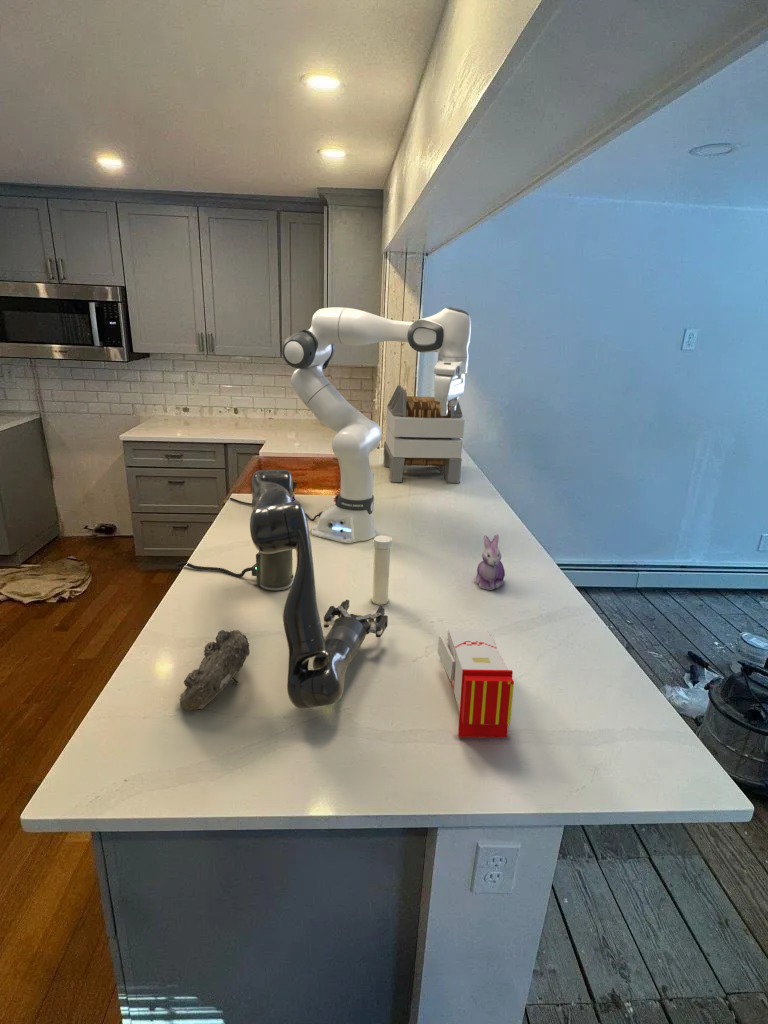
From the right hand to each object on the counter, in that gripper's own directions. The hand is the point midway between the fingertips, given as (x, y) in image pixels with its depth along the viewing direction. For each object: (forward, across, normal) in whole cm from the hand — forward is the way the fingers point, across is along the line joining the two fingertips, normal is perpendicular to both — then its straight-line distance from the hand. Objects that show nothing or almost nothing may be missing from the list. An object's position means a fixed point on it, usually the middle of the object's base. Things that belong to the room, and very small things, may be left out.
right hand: (448, 413), depth 172 cm
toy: (+46, +67, +28) cm, 86 cm away
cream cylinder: (+46, +40, -4) cm, 61 cm away
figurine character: (+46, -16, -67) cm, 83 cm away
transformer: (+46, -86, -35) cm, 104 cm away
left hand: (+39, +54, -2) cm, 67 cm away
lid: (+28, +40, -4) cm, 49 cm away
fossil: (+46, +86, -20) cm, 100 cm away
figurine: (+46, +16, +21) cm, 53 cm away
